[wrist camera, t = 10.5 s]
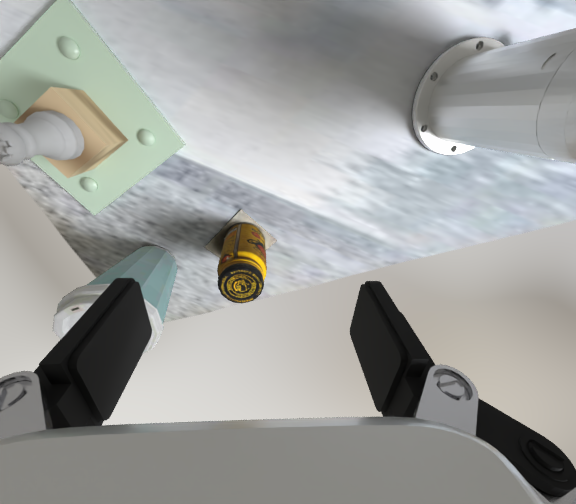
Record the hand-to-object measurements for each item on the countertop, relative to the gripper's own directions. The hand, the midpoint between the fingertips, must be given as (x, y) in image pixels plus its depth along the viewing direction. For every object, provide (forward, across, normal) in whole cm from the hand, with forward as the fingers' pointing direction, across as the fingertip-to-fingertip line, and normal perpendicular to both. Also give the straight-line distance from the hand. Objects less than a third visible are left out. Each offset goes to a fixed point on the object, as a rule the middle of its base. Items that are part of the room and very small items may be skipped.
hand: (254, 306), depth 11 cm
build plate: (+27, +21, -4) cm, 34 cm away
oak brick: (+26, +20, -4) cm, 33 cm away
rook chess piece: (+21, +20, -4) cm, 29 cm away
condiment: (+27, +3, +11) cm, 30 cm away
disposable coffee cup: (+27, +17, +15) cm, 35 cm away
